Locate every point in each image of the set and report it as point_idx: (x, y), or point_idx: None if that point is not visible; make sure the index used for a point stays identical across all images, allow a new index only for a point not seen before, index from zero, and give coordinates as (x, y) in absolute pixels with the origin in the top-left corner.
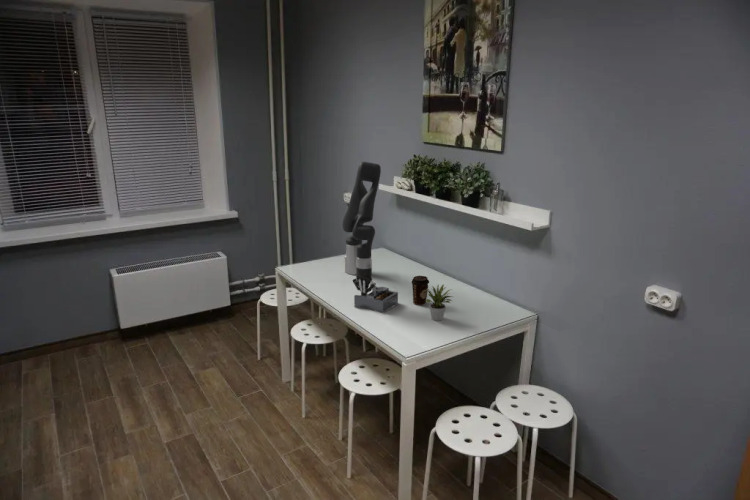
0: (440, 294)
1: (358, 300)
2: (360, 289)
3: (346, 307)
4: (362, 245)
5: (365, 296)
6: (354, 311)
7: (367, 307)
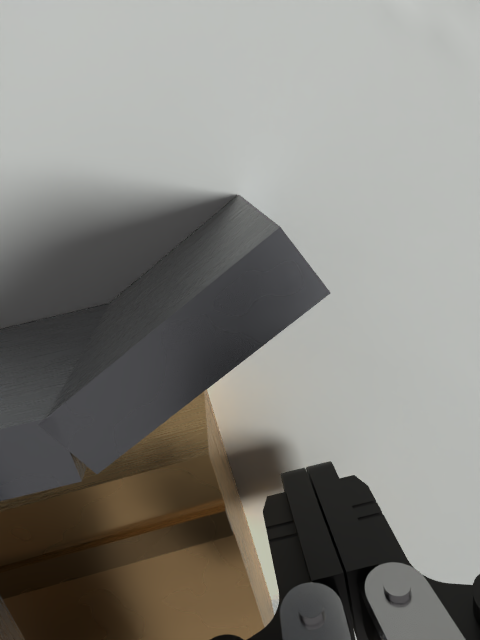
0: None
1: (172, 279)
2: (445, 621)
3: (338, 57)
4: None
5: (8, 465)
6: (60, 29)
7: (11, 330)
